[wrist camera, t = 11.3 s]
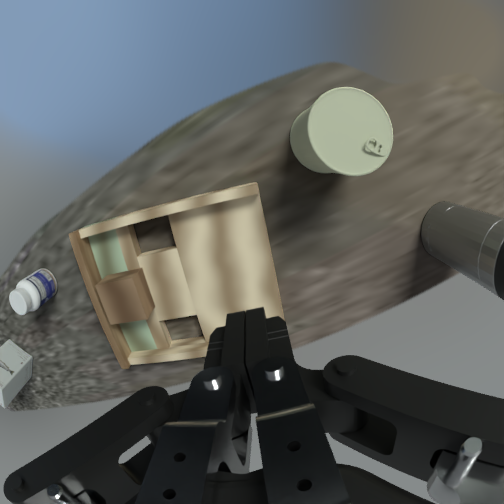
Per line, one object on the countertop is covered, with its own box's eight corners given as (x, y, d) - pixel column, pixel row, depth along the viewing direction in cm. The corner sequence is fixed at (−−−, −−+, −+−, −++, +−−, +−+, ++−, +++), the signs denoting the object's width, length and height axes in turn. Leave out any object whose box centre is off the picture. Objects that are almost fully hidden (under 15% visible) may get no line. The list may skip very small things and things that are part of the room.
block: (142, 267, 40) (132, 277, 36) (155, 306, 41) (147, 319, 37) (106, 275, 40) (95, 285, 36) (120, 311, 41) (110, 324, 38)
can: (336, 185, 39) (371, 194, 27) (277, 151, 38) (290, 145, 26) (366, 130, 37) (409, 120, 25) (309, 94, 35) (334, 68, 24)
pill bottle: (43, 298, 43) (15, 321, 35) (32, 271, 42) (1, 290, 33) (62, 293, 43) (34, 316, 34) (50, 264, 41) (19, 283, 33)
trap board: (256, 182, 39) (257, 184, 34) (285, 327, 45) (289, 345, 40) (85, 226, 40) (68, 234, 35) (131, 351, 46) (122, 369, 41)
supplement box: (33, 356, 47) (2, 390, 35) (32, 376, 49) (5, 410, 37) (9, 337, 46) (-24, 367, 34) (9, 358, 48) (-20, 389, 35)
